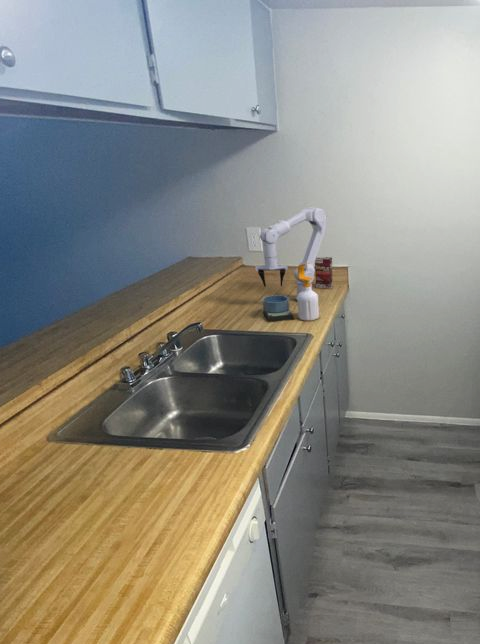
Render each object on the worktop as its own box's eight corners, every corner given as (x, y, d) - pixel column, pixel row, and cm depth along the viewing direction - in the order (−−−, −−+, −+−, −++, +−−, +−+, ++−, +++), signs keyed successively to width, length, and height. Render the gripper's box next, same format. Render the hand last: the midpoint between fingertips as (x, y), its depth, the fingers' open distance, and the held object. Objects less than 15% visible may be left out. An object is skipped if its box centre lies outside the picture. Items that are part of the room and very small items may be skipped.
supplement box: (315, 288, 256) (314, 258, 248) (318, 285, 260) (316, 256, 252) (331, 288, 254) (330, 259, 247) (333, 286, 259) (332, 257, 251)
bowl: (261, 307, 217) (260, 296, 215) (286, 304, 220) (285, 294, 218) (266, 314, 208) (264, 303, 205) (291, 312, 211) (290, 301, 209)
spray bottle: (311, 322, 207) (307, 265, 195) (294, 318, 211) (290, 263, 199) (322, 316, 214) (320, 261, 202) (306, 313, 218) (303, 259, 206)
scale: (263, 313, 218) (263, 307, 216) (287, 310, 221) (286, 305, 220) (268, 322, 207) (268, 316, 206) (293, 319, 211) (292, 313, 209)
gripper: (253, 258, 211) (257, 288, 218) (286, 258, 213) (288, 287, 220) (254, 255, 217) (257, 284, 224) (286, 254, 219) (288, 283, 226)
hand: (273, 285), depth 222 cm, fingers open, 7 cm apart
